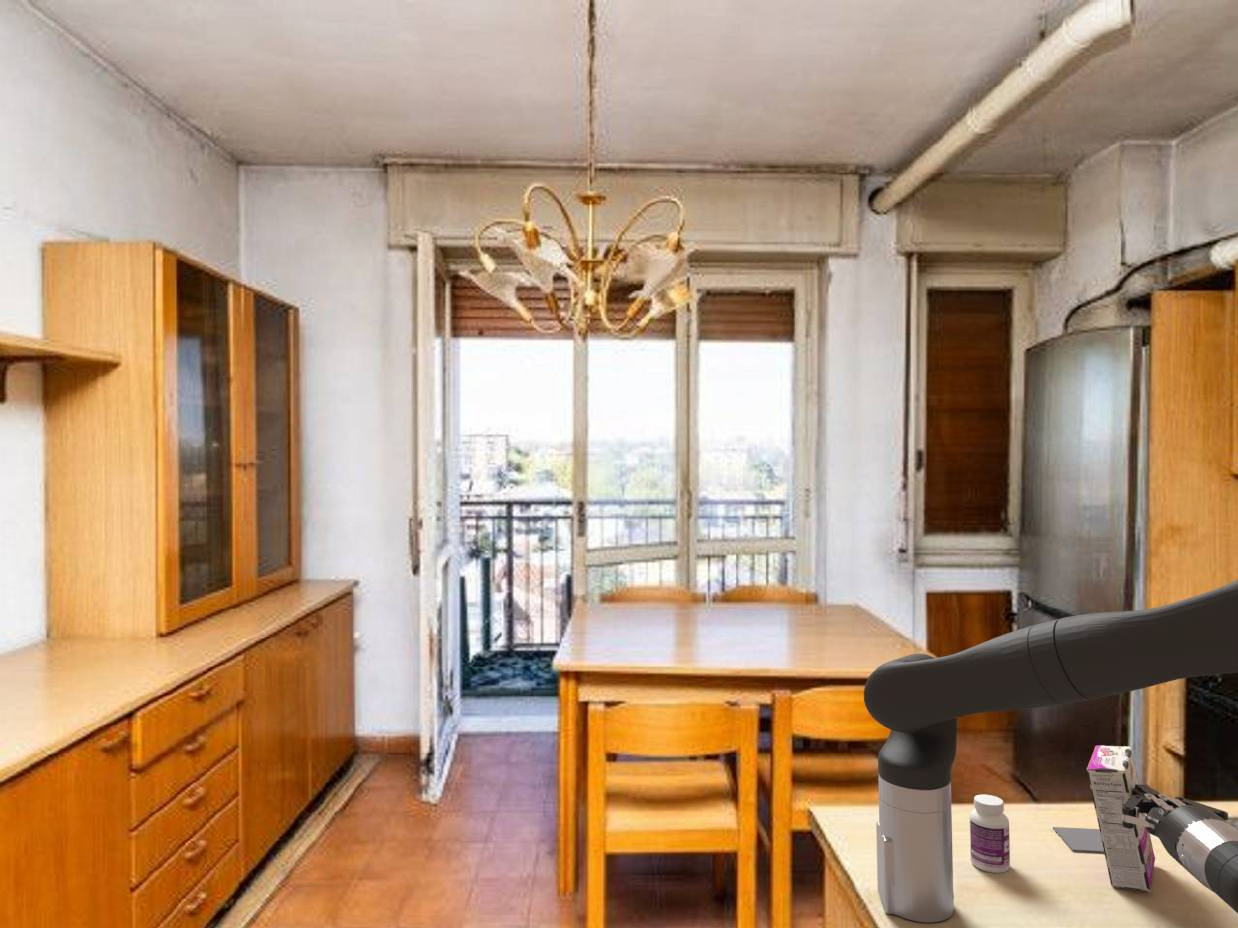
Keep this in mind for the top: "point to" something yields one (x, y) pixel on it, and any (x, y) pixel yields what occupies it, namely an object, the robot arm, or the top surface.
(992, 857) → the pill bottle
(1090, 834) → the mat
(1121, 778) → the candy bar box
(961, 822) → the top surface
